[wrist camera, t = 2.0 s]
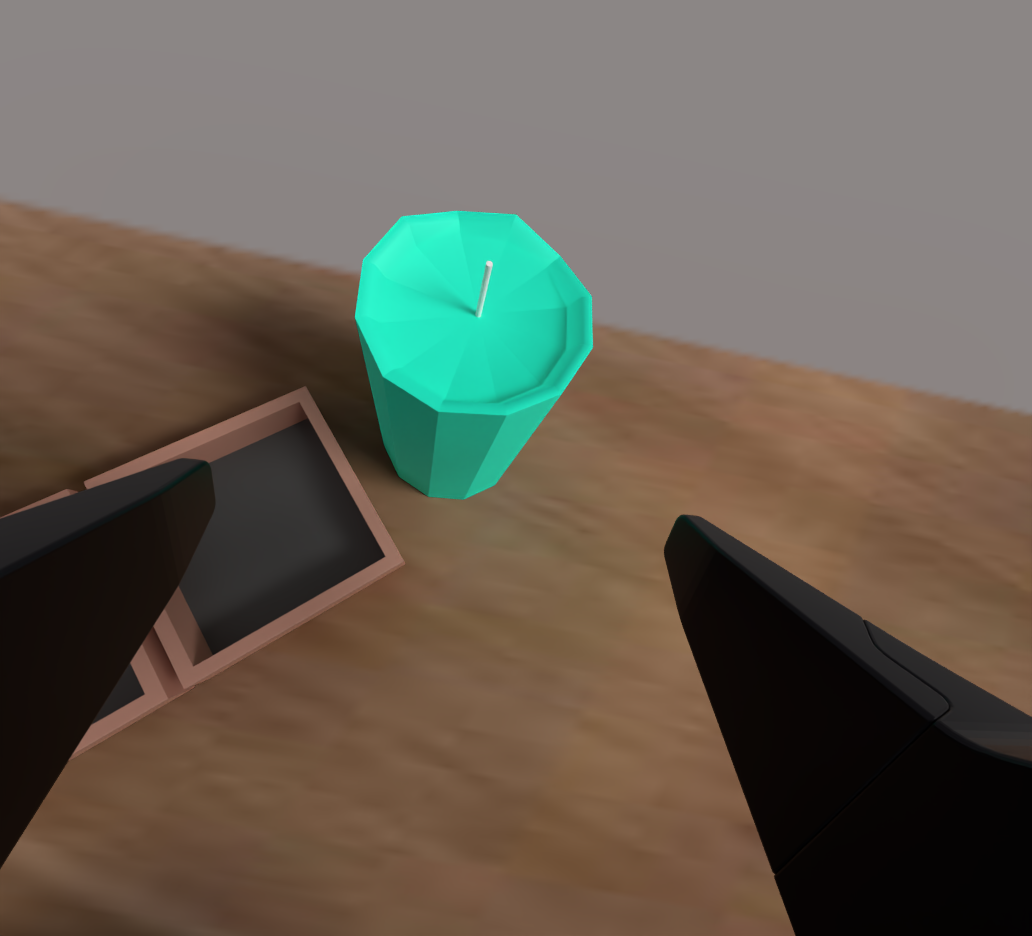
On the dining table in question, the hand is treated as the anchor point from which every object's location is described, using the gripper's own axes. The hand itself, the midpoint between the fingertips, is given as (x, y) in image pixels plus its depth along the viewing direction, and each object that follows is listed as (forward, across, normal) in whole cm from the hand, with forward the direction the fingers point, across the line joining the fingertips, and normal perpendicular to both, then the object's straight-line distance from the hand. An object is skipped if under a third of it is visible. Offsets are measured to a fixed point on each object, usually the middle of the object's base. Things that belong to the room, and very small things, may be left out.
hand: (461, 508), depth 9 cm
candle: (+12, 0, +5) cm, 13 cm away
